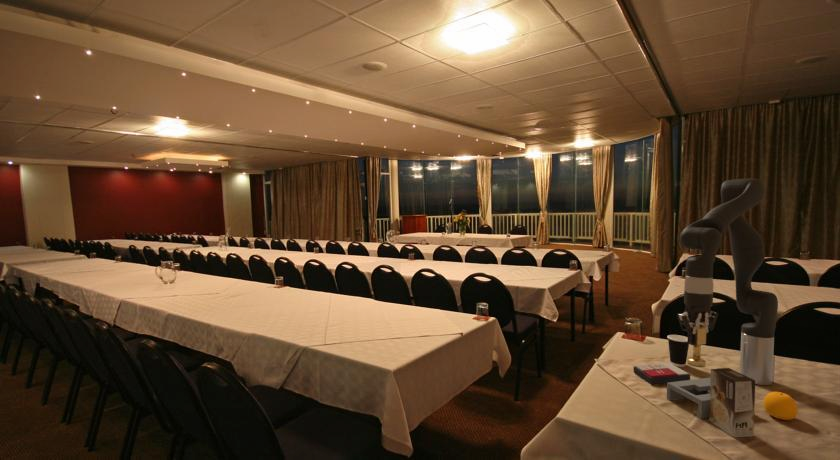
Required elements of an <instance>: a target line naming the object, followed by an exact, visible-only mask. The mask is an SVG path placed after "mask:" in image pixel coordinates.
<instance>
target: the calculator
mask: <svg viewBox="0 0 840 460" xmlns="http://www.w3.org/2000/svg"><path fill="white" fill-rule="evenodd" d="M633 373H635V374H634V375H636V376H637V377H639V378H640V379H641V380H643V381H644V380H645V381H644V382H646V383H647V382H648V383H647V384H648V385H650V384H651V385H650V386H661V385H662V386H663V385H666V386H667V383H668V382H677V381H685V380H691V374H690V373H688V372H686V371H685V370H683V369H681V367H680V368H679V366H674V365H673V364H671V362H668V363H659V362H658V363H650V364H647V363H646V364H645V363H644V364H635V366H633Z"/></svg>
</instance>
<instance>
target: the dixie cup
mask: <svg viewBox="0 0 840 460" xmlns="http://www.w3.org/2000/svg"><path fill="white" fill-rule="evenodd" d="M666 338H667V340H668V342H667V343H668V350H669V351H668V352H669V361H670V363H671V364H673V365H674V366H676V367H678V368H679V367H680V368H684V367H685V366H686V364H687V358H688V354H689V352H688V351H689V347H690V344H689V343H688V341H687V340H688V336H684V335H678V334H669V335H667V337H666Z"/></svg>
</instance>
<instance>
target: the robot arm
mask: <svg viewBox="0 0 840 460" xmlns="http://www.w3.org/2000/svg"><path fill="white" fill-rule="evenodd" d="M765 192H766V191H765V185H764V183H763V181H762V180H761V179H759V178H756V177H755V178H754V177H753V178H752V177H750V178H737V179H727V180H725V181H723V182H722V184H721V188H720V198H721V204H719V205H717V206H715V207H714V208H712V209H710V210H709V211H708V212H707V213H706V214H705V215H704V216H703V217H702V218H701V219H699V220H697V221H694V222H692V223H691V224H688V226H685V228H684V229H683V230H682V231H681V233H680V235H679V243H680V244H681V246H682V247H683V248H685V249H688V250H697V251H698V250H699V251H702V253H701V254H700V255H699V256H691V257H688V258H687V259H686V262H685V278H684V287H683V288H684V291H683V292H684V293H683V303H684V305H685V309H684V312H683V313H677V316H676V317H677V321H678V322H679V327H680V329H681V330H682V331H684V332H686V333H687V337H688V340H687V341H688V343H689V346H693V345H696V330H697V327H699V326H700V327H703V328H706V342H707V341H708V340H707V338H708V333H709V331H713V330H714V327H715V325H716V322H717V319H718V317H719V313H718V312H715V311H712V309H711V308H712V307H713V305H714V279H713V278H714V277H713V276H714V275H713V274H714V262H715V259H716V256H717V254H718V251H719V249H720V245H721V243H722V234H723V233H724V232H725V231H726V230H727V228H728V235H729V242H730V251H731V256H732V258H731V259H732V262H733V268H734V269H733V270H734V276H735V278H734V279H735V280H734V281H735V298H736V299H735V301H736V307H737V308H738V311H740V312H741V313H742V314H743V313H744V314H745V315H746V314H747V315H752V316H755V317H758V318H759V319H758V321H757V322H747V323H743V324H742V325H741V327H740V328H741V330H740V334H741V335H740V353H739V354H740V358H739V373H741V374H743V375H745V376H747V377H749V378H751V379H753V380H755V385H759V386H771V385H772V384H773V383H774V382H775V368H776V367H775V366H776V357H775V356H774V353H775V352H774V350H775V349H774V347H775V331H776V327H777V316H778V309H779V307H778V306H779V300H778V297H777V295H776V294H775V293H773V292H769V291H765V290H757V289H753V287H752V278H753V276H754V275H755V273H756V272H757V271H758V269H759V268H760V267H761V265H762V264H763V262H764V261H765V258H766V251H765V244H764V240H763V237H762V235H761V234H760V233H759V232H758V231H757V230H756V229H755V228H754V226H752V225H751V224H750V223H749V222H748V220H747V219H746V218H745V216H744V214H745V213H747V212H748V211H750V210H751V209H752V208H754V207H756V206H758V204H760V203H761V202H762V200H763V199H764V197H765ZM691 326H693V327H692V329H691Z"/></svg>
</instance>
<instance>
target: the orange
mask: <svg viewBox="0 0 840 460" xmlns="http://www.w3.org/2000/svg"><path fill="white" fill-rule="evenodd" d="M763 408H764V410H765V412H767V413H768V415H769V416H771V417H774V418H776V419H779V420H783V421H784V420H785V421H791V420H793V419H795V418H796V417H797V415H798V413H799V408H798V404H797V402H796V400H795V399H794V398H792V397H791V396H790V395H789V394H787V393H784V392H780V391H771V392H769V393H767V394H766V395H765V396H764V398H763Z"/></svg>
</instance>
